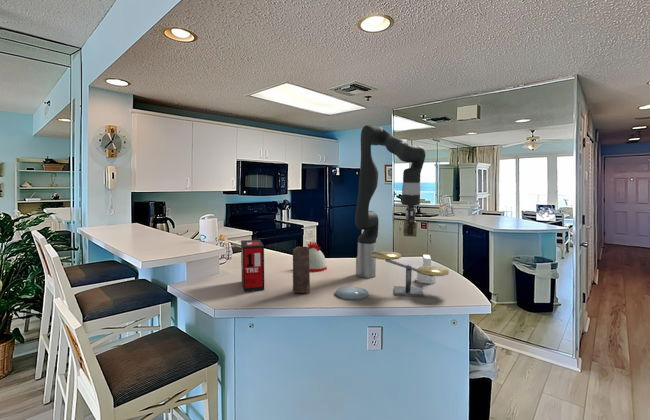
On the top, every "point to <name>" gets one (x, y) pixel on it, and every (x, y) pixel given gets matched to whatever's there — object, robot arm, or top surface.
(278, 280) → the top surface
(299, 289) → the candle
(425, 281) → the cylinder with rectangular tab
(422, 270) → the balance
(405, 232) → the walnut block
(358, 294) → the dish
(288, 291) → the top surface
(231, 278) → the top surface
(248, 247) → the cleaning product box
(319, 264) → the kitchen timer
